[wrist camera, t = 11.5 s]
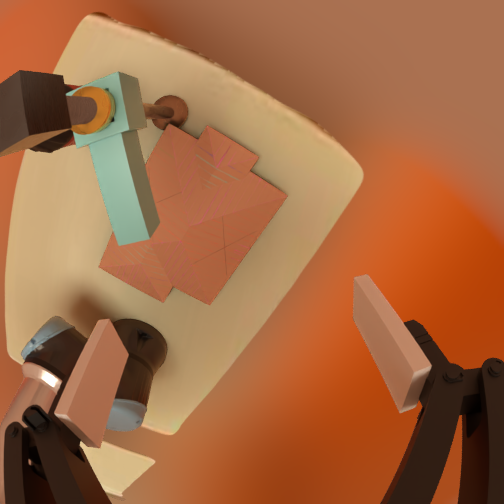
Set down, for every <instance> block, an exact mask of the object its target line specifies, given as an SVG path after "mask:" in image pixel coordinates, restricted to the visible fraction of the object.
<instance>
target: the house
mask: <svg viewBox="0 0 504 504" xmlns="http://www.w3.org/2000/svg"><path fill="white" fill-rule="evenodd" d="M258 158H259V157H258V156H256V155H255V154H253V153H252V152H250V151H249V150H247V149H245V148H244V147H242V146H241V145H239V144H237V143H236V142H234V141H233V140H231V139H229V138H228V137H226V136H224V135H223V134H221V133H219V132H218V131H216V130H214V129H213V128H211V127H209V126H208V125H207V127H206V128H205V130H204V131H203V133H202V135H201V136H200V138H199V139H196V138H194V137H192V136H191V135H189V134H187V133H186V132H184V131H182V130H180V129H178V128H177V127H175V126H173V125H171V124H170V123H169V124H168V126H167V127H166V129H165V131H164V132H163V134H162V136H161V138H160V139H159V141H158V143H157V145H156V146H155V148H154V150H153V152H152V153H151V155H150V157H149V159H148V161H147V163H146V165H145V168H146V172H147V176H148V179H149V183H150V187H151V191H152V195H153V198H154V202H155V206H156V209H157V213H158V216H159V220H160V224H159V226H158V227H157V229H156V230H155V232H154V233H153V235H152V237H151V238H150V239H149V240H144V241H139V242H135V243H130V244H126V245H121V246H119V245H118V243H117V240H116V237H115V234H114V231H113V233H112V235H111V238H110V240H109V243H108V245H107V247H106V250H105V252H104V255H103V257H102V260H101V262H100V265H99V268H101V269H103V270H105V271H106V272H108V273H110V274H112V275H113V276H115V277H117V278H119V279H120V280H122V281H124V282H126V283H128V284H129V285H131V286H133V287H135V288H137V289H138V290H140V291H142V292H144V293H146V294H148V295H150V296H152V297H153V298H155V299H157V300H159V301H161V302H164V301H165V299H166V297H167V296H168V294H169V292H170V290H171V289H172V287H175V288H177V289H179V290H180V291H182V292H184V293H186V294H188V295H190V296H192V297H194V298H196V299H198V300H200V301H202V302H204V303H206V304H208V305H210V304H211V303H212V301H213V300H214V299H215V297H216V296H217V294H218V293H219V292H220V290H221V289H222V287H223V286H224V285H225V283H226V282H227V280H228V279H229V278H230V276H231V275H232V273H233V272H234V271H235V269H236V268H237V266H238V265H239V264H240V262H241V261H242V259H243V258H244V257H245V255H246V254H247V252H248V251H249V250H250V248H251V247H252V245H253V244H254V243H255V241H256V240H257V238H258V237H259V236H260V234H261V233H262V231H263V230H264V229H265V227H266V226H267V224H268V223H269V222H270V220H271V219H272V217H273V216H274V215H275V213H276V212H277V210H278V209H279V208H280V206H281V205H282V203H283V202H284V201H285V199H286V198H287V195H286V194H284V193H283V192H281V191H280V190H278V189H277V188H275V187H274V186H272V185H271V184H269V183H268V182H266V181H264V180H263V179H261V178H260V177H258V176H257V175H255V174H254V173H252V172H250V170H251V168H252V167H253V165H254V164H255V162H256V161H257V160H258Z"/></svg>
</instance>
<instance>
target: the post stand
mask: <svg viewBox="0 0 504 504" xmlns="http://www.w3.org/2000/svg"><path fill="white" fill-rule="evenodd" d="M143 108H144V113H145V118H146V119H152V121H153V123H154V124H155V126H156V127H158V128H159V129H162V130H165V129H166V127H167V126H168V124H169V123H170V124H171V125H173V126H175V127H177V128H179V127H180V126H182V125H183V124H184V122H185V121H186V119H187V116H188V108H187V105H186V103H185V102H184V101H183V100H182V99H181V98H179V97H176V96H172V95H168V96H164V97H161V98H160V99H158V100H157V101H156V102H155V103H154V104H147V103H143ZM114 113H115V101H114V98H113V96H112V95H111V93H110V92H109V91H107V90H106V89H104V88H99V87H93V86H86V87H83V88H80V89H79V90H77V91H76V92H75V93H74V94H73V95H72V96H66V92H65V86H64V79H63V76H62V75H56V74H49V73H41V72H32V71H22V70H19V71H18V72H16V73H15V74H13V75H12V76H10V77H9V78H8V79H6V80H5V81H3V82H2V83H1V84H0V157H1V156H5V155H8V154H11V153H14V152H18V151H21V150H25V149H28V148H32V147H33V146H35V145H37V144H39V143H41V142H43V141H45V140H48V139H50V138H52V137H54V136H56V135H58V134H60V133H62V132H65V131H67V130H69V129H71V130H72V131H73V132H75V133H77V134H80V135H86V134H92V133H97V132H100V131H102V130H103V129H105V128H106V127H107V126H108V125H109V124H110V122H111V121H115V119H114Z"/></svg>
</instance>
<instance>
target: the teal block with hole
mask: <svg viewBox="0 0 504 504" xmlns="http://www.w3.org/2000/svg"><path fill="white" fill-rule="evenodd" d="M86 86H93V87H99V88H104V89H106V90H107V91H109V92H110V93H111V95H112V96H113V98H114V101H115V113H114V119H115V121H114V122H111V123H110V124H109V125H108V126H107V127H106V128H105V129H103V130H102V131H100V132H97V133H92V134H86V135H80V134H77V133H75V132H73V134H74V138H75V143H76V147H77V148H80V147H84V146H88V145H89V148H90V152H91V156H92V160H93V164H94V168H95V172H96V175H97V179H98V183H99V186H100V190H101V193H102V196H103V200H104V203H105V206H106V210H107V213H108V216H109V219H110V222H111V225H112V228H113V231H114V234H115V237H116V240H117V243H118V245H119V246H121V245H126V244H130V243H135V242H139V241H144V240H149V239H150V238H151V237H152V235H153V233H154V232H155V230H156V229H157V227H158V226H159V224H160V220H159V216H158V213H157V209H156V206H155V202H154V198H153V195H152V191H151V187H150V183H149V179H148V176H147V172H146V168H145V164H144V160H143V155H142V151H141V147H140V143H139V138H138V134H137V130H139V129H143V128H146V127H147V122H146V118H145V113H144V108H143V103H142V98H141V93H140V87H139V82H138V79H137V78H135V77H132V76H129V75H126V74H124V73H121V72H116V73H113V74H110V75H108V76H105V77H103V78H100V79H98V80H95V81H93V82H91V83H88V84H86V85H84V86H82V87H79V88H77V89H75V90H73V91H71V92H69V93H66V96H72V95H73V94H74V93H75V92H76V91H77V90H79V89H80V88H83V87H86Z"/></svg>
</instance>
